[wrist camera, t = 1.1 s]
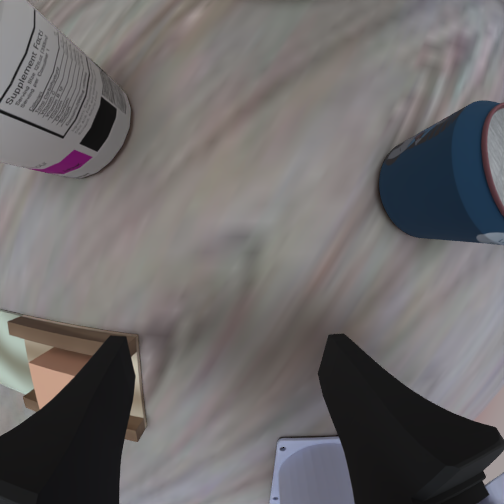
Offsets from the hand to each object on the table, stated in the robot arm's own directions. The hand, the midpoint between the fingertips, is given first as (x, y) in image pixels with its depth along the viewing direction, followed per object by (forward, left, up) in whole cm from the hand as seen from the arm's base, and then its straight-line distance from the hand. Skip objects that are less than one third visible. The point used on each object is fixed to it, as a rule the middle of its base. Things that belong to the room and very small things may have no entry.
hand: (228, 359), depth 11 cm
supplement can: (+12, +13, -11) cm, 21 cm away
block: (-8, +13, -10) cm, 18 cm away
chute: (-8, +19, -11) cm, 24 cm away
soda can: (+8, -12, -11) cm, 18 cm away
